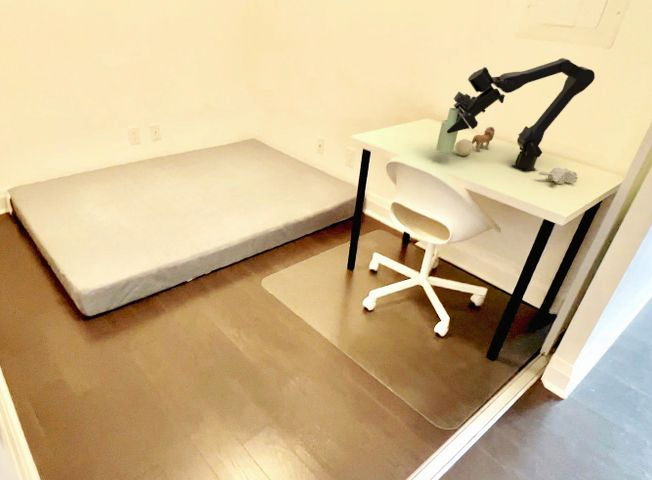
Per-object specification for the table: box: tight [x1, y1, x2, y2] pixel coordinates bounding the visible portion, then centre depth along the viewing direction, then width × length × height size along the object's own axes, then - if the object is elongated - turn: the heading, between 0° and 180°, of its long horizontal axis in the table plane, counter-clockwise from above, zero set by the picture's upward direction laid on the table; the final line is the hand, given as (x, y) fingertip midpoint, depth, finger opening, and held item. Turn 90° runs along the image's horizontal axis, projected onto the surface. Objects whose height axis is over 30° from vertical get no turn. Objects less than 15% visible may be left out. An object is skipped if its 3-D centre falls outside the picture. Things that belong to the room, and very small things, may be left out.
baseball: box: [454, 138, 474, 157], centre depth 183 cm, size 7×7×7 cm
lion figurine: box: [471, 126, 496, 152], centre depth 190 cm, size 15×5×9 cm, turn 129°
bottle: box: [435, 107, 459, 154], centre depth 169 cm, size 7×7×16 cm
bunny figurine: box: [538, 166, 579, 185], centre depth 162 cm, size 10×5×15 cm
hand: (445, 129), depth 169 cm, fingers closed on bottle, 7 cm apart
